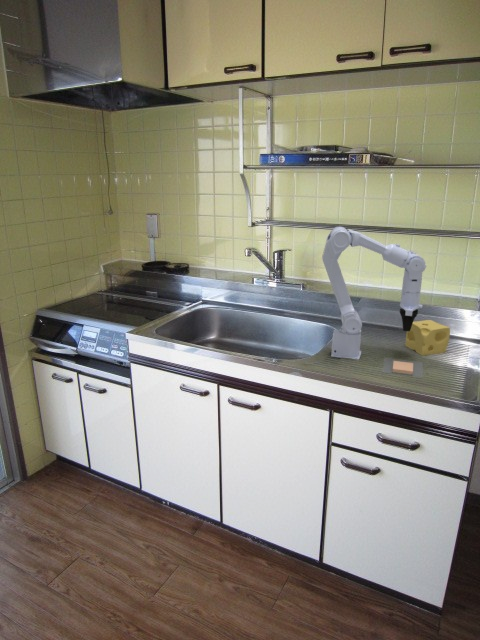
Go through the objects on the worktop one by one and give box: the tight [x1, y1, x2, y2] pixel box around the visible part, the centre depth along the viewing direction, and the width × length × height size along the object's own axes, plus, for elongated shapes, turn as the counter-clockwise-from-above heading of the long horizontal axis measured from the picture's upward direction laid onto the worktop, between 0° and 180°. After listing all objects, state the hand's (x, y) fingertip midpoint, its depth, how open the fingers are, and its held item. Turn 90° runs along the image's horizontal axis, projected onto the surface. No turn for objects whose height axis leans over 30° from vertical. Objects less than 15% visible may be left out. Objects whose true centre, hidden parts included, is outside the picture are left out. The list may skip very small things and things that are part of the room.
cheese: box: [404, 319, 451, 357], centre depth 162 cm, size 10×11×10 cm
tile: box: [392, 361, 413, 375], centre depth 146 cm, size 6×1×7 cm
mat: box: [381, 357, 424, 379], centre depth 148 cm, size 12×13×1 cm
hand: (406, 330), depth 154 cm, fingers closed
